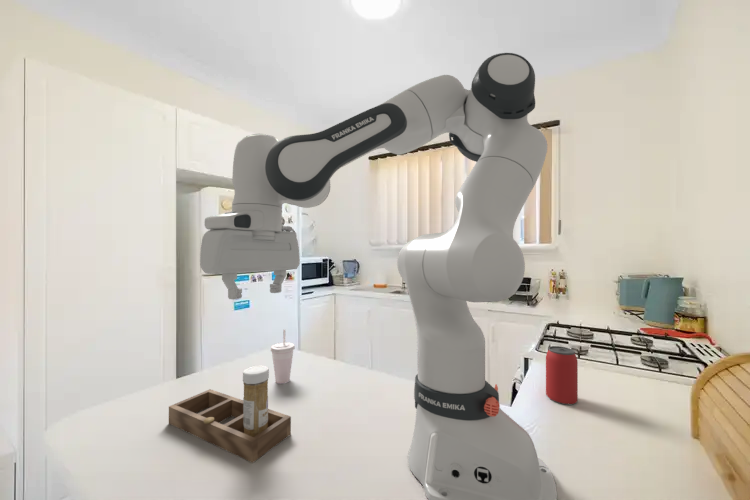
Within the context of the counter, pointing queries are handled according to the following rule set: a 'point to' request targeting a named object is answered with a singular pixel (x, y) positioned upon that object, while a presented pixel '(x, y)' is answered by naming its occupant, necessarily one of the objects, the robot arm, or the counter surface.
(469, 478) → the robot arm
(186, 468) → the counter surface
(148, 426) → the counter surface
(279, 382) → the smoothie
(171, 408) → the spice caddy
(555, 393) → the beer can
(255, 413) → the sprinkles bottle
